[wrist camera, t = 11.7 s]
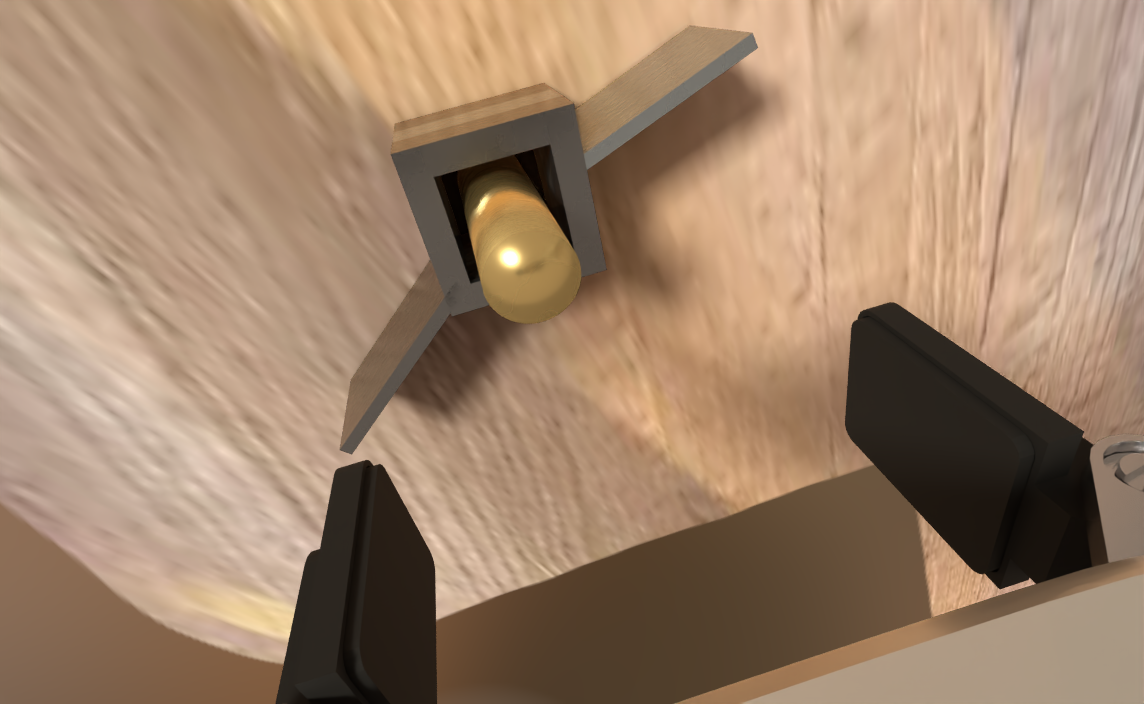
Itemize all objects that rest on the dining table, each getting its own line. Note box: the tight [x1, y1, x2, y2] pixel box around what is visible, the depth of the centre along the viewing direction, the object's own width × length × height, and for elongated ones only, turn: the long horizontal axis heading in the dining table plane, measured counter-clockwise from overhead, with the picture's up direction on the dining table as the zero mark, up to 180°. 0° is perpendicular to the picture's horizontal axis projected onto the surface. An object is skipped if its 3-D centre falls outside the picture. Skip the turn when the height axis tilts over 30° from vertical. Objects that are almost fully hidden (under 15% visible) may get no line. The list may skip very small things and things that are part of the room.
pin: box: [457, 155, 581, 324], centre depth 24 cm, size 3×3×12 cm
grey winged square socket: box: [340, 26, 758, 454], centre depth 28 cm, size 21×13×6 cm, turn 102°
